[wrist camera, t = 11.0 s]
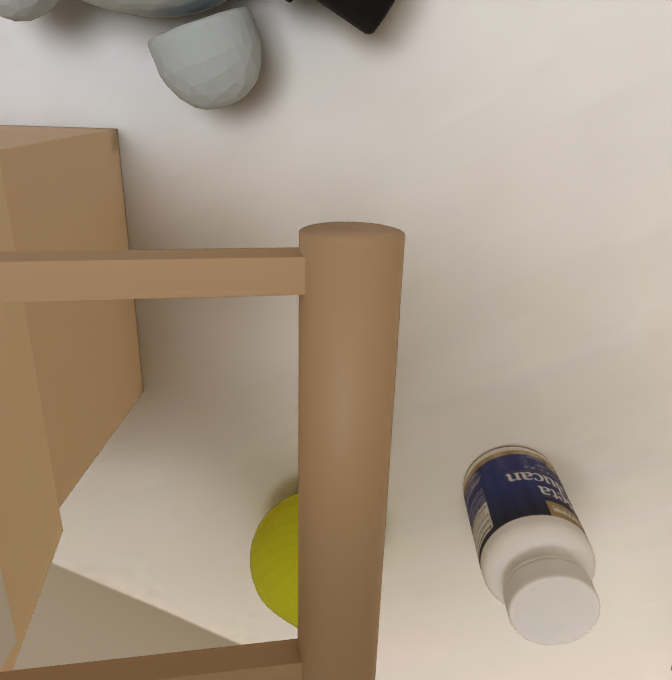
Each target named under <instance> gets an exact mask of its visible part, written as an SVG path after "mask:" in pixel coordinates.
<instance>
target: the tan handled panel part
mask: <svg viewBox="0 0 672 680" xmlns="http://www.w3.org/2000/svg"><path fill="white" fill-rule="evenodd" d="M404 242H405V234H404V232H402V231H401V230H399V229H396V228H393V227H390V226H385V225H380V224H373V223H363V222H327V223H319V224H313V225H309V226H306V227H303V228H302V229H300V231H299V247H298V248H226V249H155V250H84V251H15V246H14V240H13V234H12V228H11V222H10V217H9V211H8V205H7V199H6V193H5V187H4V181H3V175H2V169H1V164H0V569H1V574H2V578H3V582H4V587H5V591H6V595H7V600H8V604H9V608H10V613H11V617H12V621H13V626H14V630H15V634H16V639H17V642H16V644H15V645H14V647H13V649H12V650H11V652H10V654H9V655H8V657H7V659H6V660H5V662H4V664H3V665H2V667H1V669H0V680H375V673H376V658H377V643H378V628H379V614H380V599H381V584H382V569H383V554H384V539H385V525H386V510H387V495H388V480H389V465H390V450H391V435H392V421H393V406H394V391H395V376H396V361H397V346H398V331H399V317H400V302H401V287H402V272H403V257H404ZM273 295H299V432H298V639H290V640H281V641H272V642H263V643H255V644H246V645H237V646H228V647H219V648H210V649H201V650H193V651H183V652H174V653H165V654H156V655H147V656H138V657H130V658H121V659H112V660H103V661H94V662H85V663H76V664H67V665H58V666H49V667H40V668H31V669H22V670H14V671H12V670H13V667H14V665H15V662H16V659H17V656H18V654H19V651H20V648H21V645H22V642H23V640H24V637H25V634H26V631H27V629H28V626H29V623H30V620H31V617H32V614H33V612H34V609H35V607H36V604H37V601H38V598H39V595H40V593H41V590H42V587H43V584H44V582H45V579H46V576H47V573H48V571H49V568H50V565H51V562H52V560H53V557H54V554H55V551H56V548H57V546H58V543H59V540H60V537H61V535H62V532H63V528H62V523H61V517H60V511H59V505H58V499H57V493H56V487H55V481H54V475H53V470H52V464H51V458H50V452H49V446H48V440H47V434H46V428H45V422H44V417H43V411H42V405H41V399H40V393H39V387H38V381H37V375H36V370H35V364H34V358H33V352H32V346H31V340H30V334H29V328H28V322H27V317H26V311H25V305H24V302H41V301H79V300H118V299H157V298H195V297H234V296H273Z"/></svg>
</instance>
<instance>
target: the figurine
mask: <svg viewBox="0 0 672 680" xmlns="http://www.w3.org/2000/svg"><path fill="white" fill-rule="evenodd" d="M59 1H60V0H0V16H1V17H4V18H7V19H10V20H13V21H31V20H33V19H36V18H38V17H40V16H42V15H43V14H45V13H47V12H48V11H50V10H51V9H53V8H54V7H55V5H56V4H57V3H58V2H59ZM81 1H83V2H86V3H89V4H92V5H94V6H97V7H100V8H104V9H107V10H111V11H115V12H120V13H126V14H131V15H137V16H143V17H154V18H169V17H182V16H188V15H193V14H198V13H201V12H203V11H206V10H208V9H211V8H213V7H216V6H217V5H219V4H221V3H223V2H225V1H227V0H81ZM286 1H287V2H292V1H293V0H286ZM317 1H318V2H320V3H321V4H323V5H324V6H326V7H327V8H329V9H330V10H332V11H333V12H335V13H336V14H338V15H339V16H340V17H342V18H343V19H345V20H346V21H348V22H349V23H351V24H352V25H354V26H355V27H357V28H358V29H360V30H361V31H362V32H364V33H366V34H372V33H373V32H375V30H376V29H377V27H378V26H379V25H380V23H381V22H382V20H383V19H384V17H385V16H386V14H387V13H388V11H389V10H390V8H391V6H392V5H393V3H394V1H395V0H317ZM148 47H149V49H150V52H151V54H152V57H153V59H154V62H155V64H156V67H157V69H158V72H159V74H160V77H161V78H162V79H163V81H164V82H165V83H166V85H167V86H168V87H169V88H170V89H171V90H172V91H173V92H174V93H175V94H176V95H177V96H178V97H179V98H180V99H181V100H183V101H185V102H187V103H188V104H190V105H192V106H194V107H196V108H201V109H206V110H207V109H216V108H221V107H224V106H228V105H231V104H234V103H236V102H237V101H239V100H240V99H242V98H244V97H245V96H247V95H248V93H249V92H250V90H251V89H252V88H253V86H254V85H255V83H256V82H257V80H258V75H259V71H260V67H261V40H260V37H259V34H258V31H257V28H256V25H255V22H254V19H253V16H252V13H251V11H250V9H249V8H248V7H238V8H233V9H230V10H226V11H223V12H220V13H216V14H213V15H210V16H207V17H204V18H201V19H198V20H195V21H192V22H189V23H186V24H183V25H180V26H178V27H175V28H173V29H170V30H168V31H165V32H163V33H161V34H159V35H157V36H156V37H154V38H153V39H151V40H149V41H148Z"/></svg>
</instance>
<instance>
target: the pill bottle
mask: <svg viewBox="0 0 672 680" xmlns="http://www.w3.org/2000/svg"><path fill="white" fill-rule="evenodd" d="M464 498H465V503H466V508H467V512H468V516H469V521H470V525H471V529H472V534H473V538H474V542H475V546H476V550H477V555H478V559H479V563H480V568H481V571H482V575H483V578H484V581H485V583H486V585H487V587H488V589H489V590H490V592H491V593H492V594H493V595H494V596H495V597H496V598H497V599H498V600H499V601H500V602H502V603H503V604H505V606H506V609H507V613H508V617H509V620H510V622H511V624H512V626H513V628H514V629H515V630H516V631H517V632H518V634H520V635H521V636H522V637H524V638H525V639H527V640H529V641H531V642H534V643H537V644H542V645H561V644H566V643H570V642H572V641H575V640H577V639H579V638H581V637H582V636H584V635H585V634H587V633H588V632H589V631H590V630H591V629H592V628H593V626H594V625H595V624H596V622H597V620H598V617H599V614H600V602H599V598H598V595H597V593H596V591H595V588H594V586H593V583H592V579H593V577H594V573H595V556H594V552H593V549H592V546H591V544H590V542H589V540H588V538H587V536H586V534H585V532H584V530H583V528H582V526H581V524H580V522H579V519H578V517H577V515H576V513H575V511H574V509H573V507H572V505H571V503H570V501H569V499H568V497H567V495H566V493H565V490H564V488H563V486H562V484H561V482H560V480H559V478H558V476H557V474H556V472H555V470H554V469H553V467H552V465H551V464H550V463H549V461H548V460H547V459H546V458H544V457H543V456H542V455H540V454H539V453H537V452H535V451H533V450H530V449H527V448H522V447H503V448H498V449H495V450H492V451H490V452H487V453H486V454H484V455H482V456H481V457H480V458H478V459H477V460H476V461H475V462H474V463H473V464H472V466H471V467H470V469H469V470H468V472H467V474H466V477H465V480H464Z"/></svg>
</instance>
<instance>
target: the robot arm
mask: <svg viewBox="0 0 672 680" xmlns="http://www.w3.org/2000/svg"><path fill="white" fill-rule="evenodd" d="M16 642H17V639H16V634H15V630H14V626H13V621H12V617H11V613H10V608H9V604H8V600H7V595H6V591H5V587H4V582H3V578H2V574H1V569H0V669H1V667H2V665H3V664H4V662H5V660H6V659H7V657H8V655H9V654H10V652H11V650H12V649H13V647H14V645H15V644H16ZM671 671H672V666H671Z"/></svg>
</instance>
